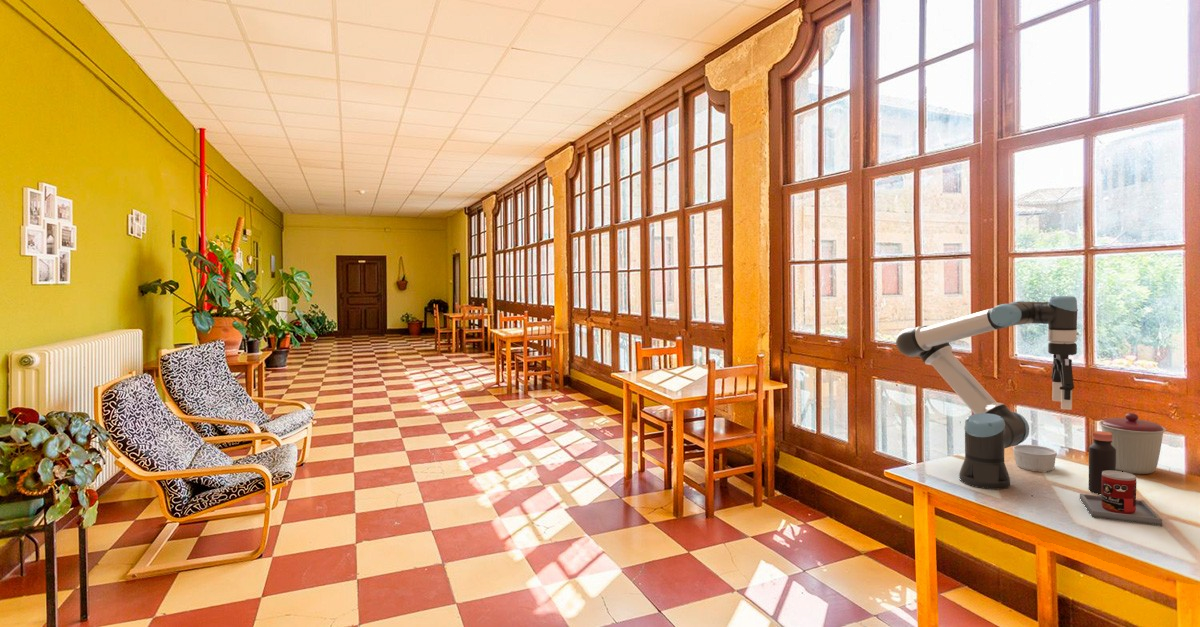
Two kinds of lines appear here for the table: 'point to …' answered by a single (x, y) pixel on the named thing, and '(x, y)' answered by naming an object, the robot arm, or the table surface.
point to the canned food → (1118, 492)
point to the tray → (1140, 516)
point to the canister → (1135, 443)
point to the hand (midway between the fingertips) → (1061, 405)
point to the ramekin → (1034, 457)
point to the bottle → (1100, 459)
